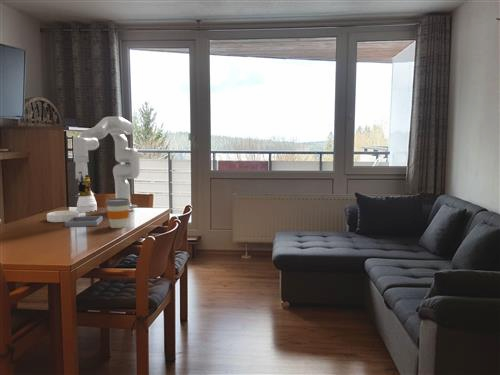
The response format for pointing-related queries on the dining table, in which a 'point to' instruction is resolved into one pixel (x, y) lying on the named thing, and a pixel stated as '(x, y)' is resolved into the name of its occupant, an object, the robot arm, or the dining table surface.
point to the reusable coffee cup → (118, 212)
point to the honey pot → (86, 203)
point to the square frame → (84, 221)
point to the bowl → (61, 216)
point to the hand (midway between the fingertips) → (83, 190)
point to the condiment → (86, 188)
